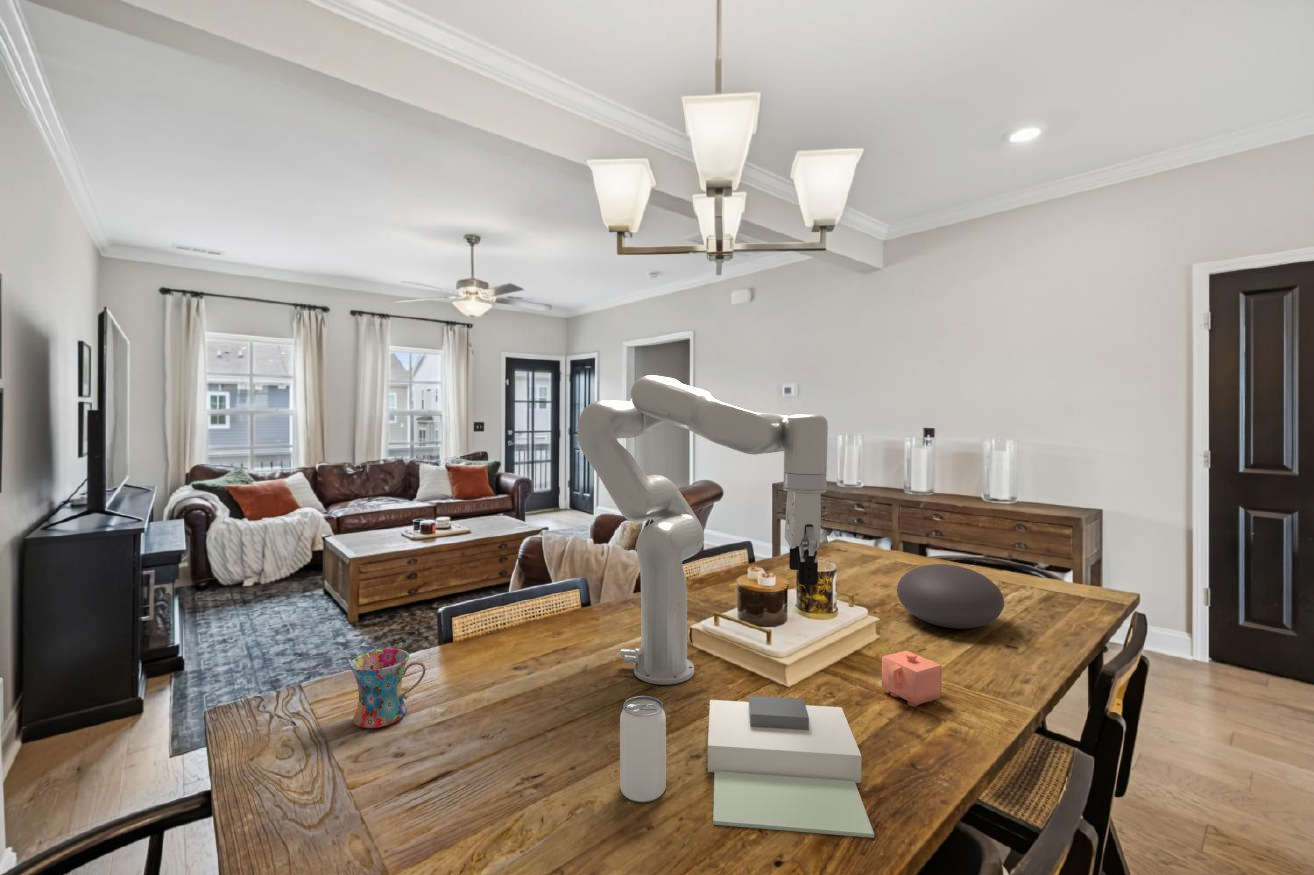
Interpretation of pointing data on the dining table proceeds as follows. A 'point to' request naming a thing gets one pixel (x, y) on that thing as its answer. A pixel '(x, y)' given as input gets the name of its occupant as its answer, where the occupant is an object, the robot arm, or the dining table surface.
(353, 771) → the dining table surface
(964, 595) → the flattened ellipsoid
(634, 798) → the can
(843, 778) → the plate
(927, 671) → the pink cube teapot
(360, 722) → the mug
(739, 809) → the mat
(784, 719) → the tile
